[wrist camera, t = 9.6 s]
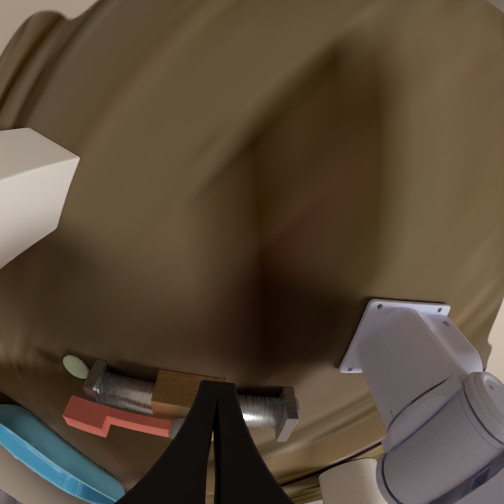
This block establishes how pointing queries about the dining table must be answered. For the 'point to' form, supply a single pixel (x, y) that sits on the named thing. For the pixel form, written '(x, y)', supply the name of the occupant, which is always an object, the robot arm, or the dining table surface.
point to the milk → (30, 188)
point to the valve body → (186, 398)
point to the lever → (115, 419)
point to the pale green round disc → (76, 366)
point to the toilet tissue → (351, 483)
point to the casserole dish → (55, 457)
